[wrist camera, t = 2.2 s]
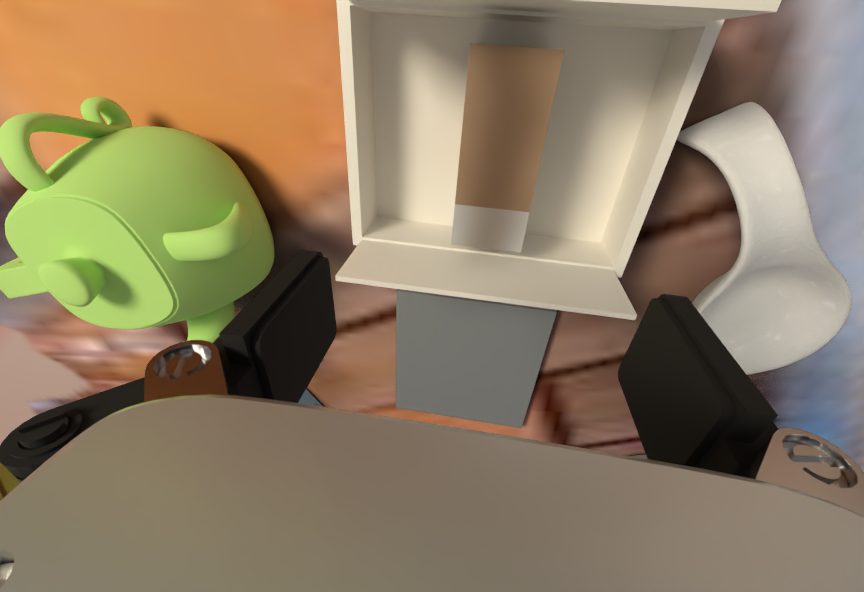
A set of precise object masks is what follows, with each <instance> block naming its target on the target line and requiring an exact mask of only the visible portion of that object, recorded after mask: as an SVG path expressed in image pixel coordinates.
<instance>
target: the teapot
mask: <svg viewBox="0 0 864 592" xmlns="http://www.w3.org/2000/svg"><path fill="white" fill-rule="evenodd" d="M81 113H82V116H83V117H84V119H85V120H83V119H79V118H74V117H69V116H64V115H58V114H51V113H25V114H20V115H17V116H14V117H12V118H10V119H8V120H7V121H6V122H5V123H4V124H3V125H2V126H1V128H0V157H1V159H2V161H3V163H4V165H5V166H6V168H7V169H8V171H9V172H10V173H11V174H12V175H13V176H14V177H15V179H16V180H18V181H19V182H20V183H21V184H22V185H23V186H24V187H26V188H27V189H28V190H27V191H26V193H25V194H24V195H23V196H22V197H21V198H20V199H19V200H18V202H17V203H16V204H15V205H14V207H13V208H12V210H11V211H10V213H9V214H8V216H7V218H6V221H5V233H6V237H7V240H8V242H9V243H10V245H11V247H12V248H13V250H14V251H15V253H16V254H17V255H18V258H16V259H14V260H12V261H10V262H8V263H6V264H4V265H2V266H0V289H1V290H2V291H3V293H4V294H5V295H6V296H7V297H8V298H9V299H10V298H16V297H21V296H27V295H33V294H39V293H44V292H50V293H51V294H52V295H53V296H54V297H55V298H56V299H57V300H58V301H59V302H60V303H61V304H62V305H63V306H65V307H66V308H67V309H68V310H69V311H70V312H72V313H73V314H74V315H76V316H77V317H79V318H81V319H82V320H85V321H87V322H89V323H92V324H95V325H98V326H103V327H108V328H115V329H143V328H150V327H156V326H161V325H166V324H170V323H175V322H179V321H183V320H186V321H187V325H188V339H187V341H189V340H204V341H209V342H211V343H213V342H214V341H215V340H216V339H217V338H218V337H219V336H220V335H219V333H220V332H221V331H222V330H223V329H224V328H225V327H226V326H227V325H228V324H229V323H230V322H231V321H232V320H233V319H234V301H235V300H237V299H239V298H240V297H242V296H243V295H245V294H247V293H248V292H250V291H251V290H252V289H254V288H255V287H256V286H257V285H258V284H260V283H261V282H262V281H263V280H264V279H265V278H266V277H267V275H268V274H269V273H270V270H271V268H272V265H273V262H274V242H273V237H272V233H271V230H270V226H269V223H268V221H267V218H266V216H265V213H264V211H263V208H262V206H261V204H260V202H259V200H258V198H257V196H256V194H255V192H254V191H253V189H252V187H251V185H250V184H249V182H248V180H247V179H246V177H245V175H244V174H243V172H242V171H241V170H240V168H239V167H238V166H237V164H236V163H235V162H234V161H233V160H232V159H231V158H230V156H229V155H227V154H226V153H225V152H224V151H222V150H221V149H220V148H219V147H217V146H216V145H214V144H212V143H211V142H209V141H208V140H206V139H204V138H202V137H200V136H198V135H195V134H193V133H190V132H187V131H183V130H179V129H173V128H165V127H158V126H139V127H132V124H131V120H130V118H129V116H128V115H127V113H126V112H125V111H124V110H123V108H121V107H120V106H119V105H118V104H117V103H116V102H114V101H112V100H110V99H108V98H103V97H91V98H88V99H86V100H85V101H84V102H83V103H82V104H81ZM100 113H101V114H102V115H103V117H104V118H105V119H106V121H107V124H108V125H107V124H105V121H104V120H103V118H102V117H101V114H100ZM40 131H47V132H58V133H65V134H70V135H75V136H81V137H86V138H92V139H93V140H90V141H88V142H86V143H84V144H82V145H80V146H78V147H76V148H75V149H73V150H71V151H70V152H68V153H67V154H65V155H64V156H63V157H61V158H60V159H58V160H57V161H56V162H55V163H54V164H53V165H52V166H51V167H49V168H48V169H47V170H46V171H44V170H43V169H42V168H41V166H40V165H39V164H38V163H37V161H36V159H35V158H34V156H33V153H32V151H31V148H30V143H29V137H30V134H31V133H33V132H40Z"/></svg>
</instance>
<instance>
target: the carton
mask: <svg viewBox="0 0 864 592" xmlns="http://www.w3.org/2000/svg"><path fill="white" fill-rule="evenodd" d="M781 1H782V0H337V15H338V30H339V45H340V59H341V74H342V89H343V104H344V118H345V133H346V148H347V163H348V178H349V192H350V207H351V222H352V237H353V245H358V246H357V247H356V248H355V250H354V251H353V252H352V254H351V255H350V256H349V258H348V259H347V261H346V262H345V263H344V265H343V266H342V267H341V269H340V270H339V271H338V273H337V274H336V276H335V277H336V281H342V282H349V283H357V284H364V285H372V286H380V287H387V288H395V289H402V290H410V291H417V292H425V293H433V294H440V295H448V296H455V297H463V298H471V299H478V300H486V301H493V302H501V303H508V304H516V305H524V306H531V307H539V308H546V309H554V310H562V311H569V312H577V313H584V314H592V315H600V316H607V317H615V318H622V319H630V320H635V319H636V317H637V314H636V312H635V310H634V308H633V306H632V304H631V302H630V300H629V299H628V297H627V295H626V293H625V291H624V289H623V287H622V285H621V283H620V281H619V280H618V278H617V277H622V275H623V272H624V270H625V267H626V265H627V262H628V260H629V257H630V255H631V252H632V250H633V247H634V245H635V242H636V240H637V237H638V235H639V232H640V230H641V227H642V225H643V222H644V220H645V217H646V215H647V212H648V210H649V207H650V205H651V202H652V200H653V197H654V195H655V192H656V190H657V187H658V185H659V182H660V180H661V177H662V175H663V172H664V170H665V167H666V165H667V162H668V160H669V157H670V155H671V152H672V150H673V147H674V145H675V142H676V140H677V137H678V135H679V132H680V130H681V127H682V125H683V122H684V120H685V117H686V115H687V112H688V110H689V107H690V105H691V102H692V100H693V97H694V95H695V92H696V90H697V87H698V85H699V82H700V80H701V77H702V75H703V72H704V70H705V67H706V65H707V62H708V60H709V57H710V55H711V52H712V50H713V47H714V45H715V42H716V40H717V37H718V35H719V32H720V30H721V27H722V25H723V22H724V20H725V19H730V18H737V17H744V16H751V15H758V14H764V13H771V12H777V9H778V7H779V5H780V3H781ZM470 43H472V44H487V45H502V46H517V47H531V48H546V49H561V50H564V54H563V59H562V64H561V68H560V73H559V78H558V82H557V87H556V92H555V96H554V101H553V106H552V110H551V115H550V120H549V124H548V129H547V134H546V138H545V143H544V148H543V152H542V157H541V162H540V166H539V171H538V176H537V180H536V185H535V190H534V194H533V199H532V204H531V208H530V213H529V218H528V222H527V227H526V232H525V236H524V241H523V246H522V250H521V253H519V252H511V251H502V250H494V249H485V248H477V247H469V246H460V245H452V244H451V240H452V229H453V219H454V208H455V198H456V187H457V177H458V166H459V156H460V145H461V135H462V124H463V114H464V103H465V93H466V82H467V71H468V61H469V50H470Z"/></svg>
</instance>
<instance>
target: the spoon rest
mask: <svg viewBox="0 0 864 592" xmlns="http://www.w3.org/2000/svg"><path fill="white" fill-rule="evenodd" d="M677 140H678V141H679V142H681V143H683V144H685V145H688V146H690V147H692V148H693V149H695V150H697V151H699V152H701V153H702V154H704V155H705V156H707V157H708V158H709V159H710V160H711V161H712V162H713V163H714V164H715V165H716V166H717V167H718V168H719V170H720V171H721V172H722V174H723V175H724V177H725V179H726V181H727V183H728V185H729V187H730V189H731V191H732V194H733V197H734V200H735V203H736V206H737V210H738V214H739V218H740V226H741V247H740V252H739V256H738V258H737V260H736V262H735V264H734V265H733V267H732V268H731V269H730V270H729V271H728V272H726V273H725V274H723V275H721V276H720V277H718V278H717V279H715V280H714V281H713V282H711V283H710V284H709V285H708V286H706V287H705V288H704V289H703V290H702V291H701V292H700V293H699V294H698V295H697V297H696V298H695V299H694V301H693V302H692V304H693V305H694V307H695V308H696V309H697V310H698V312H699V313H700V314H701V316H702V317H703V318H704V320H705V321H706V322H707V324H708V325H709V326H710V327H711V329H712V330H713V331H714V333H715V334H716V335H717V337H718V338H719V339H720V341H721V342H722V343H723V344H724V346H725V347H726V348H727V350H728V351H729V352H730V354H731V355H732V356H733V358H734V359H735V360H736V361H737V363H738V364H739V365H740V367H741V368H742V369H743V371H744V372H745V373H746V375H747V374H754V373H759V372H764V371H769V370H773V369H777V368H780V367H784V366H787V365H789V364H792V363H794V362H796V361H799V360H801V359H803V358H805V357H807V356H809V355H810V354H812V353H814V352H815V351H817V350H819V349H820V348H821V347H823V346H824V345H825V344H826V343H828V342H829V341H830V340H831V339H832V338H833V337H834V336H835V335H836V334H837V333H838V331H839V330H840V329H841V327H842V326H843V324H844V323H845V321H846V319H847V317H848V314H849V312H850V308H851V293H850V289H849V286H848V284H847V282H846V280H845V279H844V277H843V276H842V275H841V273H840V272H839V271H838V270H837V269H836V267H835V266H834V265H833V264H832V263H831V261H830V260H829V259H828V258H827V256H826V255H825V254H824V252H823V251H822V249H821V247H820V246H819V243H818V241H817V239H816V236H815V234H814V231H813V227H812V223H811V218H810V212H809V208H808V205H807V201H806V197H805V194H804V190H803V187H802V184H801V181H800V178H799V175H798V172H797V170H796V167H795V165H794V162H793V159H792V156H791V154H790V151H789V149H788V146H787V144H786V142H785V140H784V138H783V136H782V134H781V132H780V130H779V129H778V127H777V125H776V124H775V122H774V120H773V119H772V117H771V116H770V115H769V114H768V113H767V112H766V110H764V109H763V108H762V107H761V106H760V105H758V104H756V103H754V102H747V103H744V104H741V105H738V106H736V107H734V108H731V109H729V110H727V111H724V112H722V113H720V114H718V115H715V116H713V117H710V118H708V119H706V120H703V121H701V122H699V123H697V124H694V125H692V126H690V127H688V128H686V129H684V130H682V131H681V132H679V135H678V137H677Z"/></svg>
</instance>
